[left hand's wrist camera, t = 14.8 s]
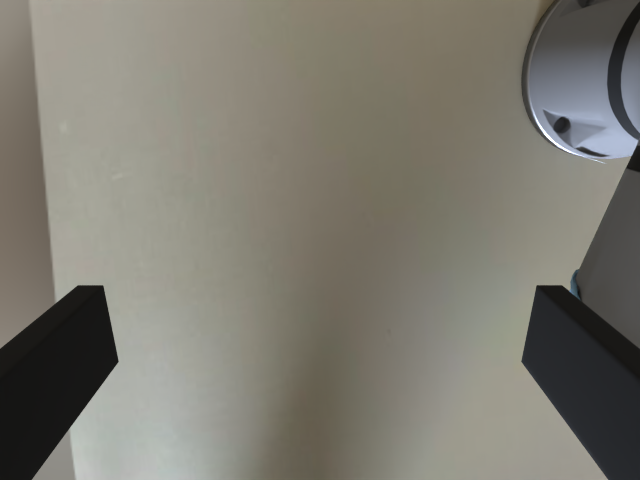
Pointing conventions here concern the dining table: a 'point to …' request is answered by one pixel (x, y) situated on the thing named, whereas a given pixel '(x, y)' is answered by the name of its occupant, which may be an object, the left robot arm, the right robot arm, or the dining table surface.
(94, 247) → the dining table surface
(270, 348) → the dining table surface
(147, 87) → the dining table surface
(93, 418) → the dining table surface
